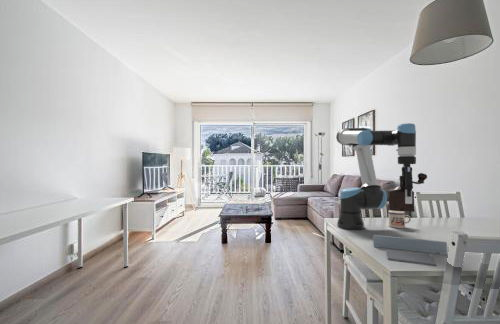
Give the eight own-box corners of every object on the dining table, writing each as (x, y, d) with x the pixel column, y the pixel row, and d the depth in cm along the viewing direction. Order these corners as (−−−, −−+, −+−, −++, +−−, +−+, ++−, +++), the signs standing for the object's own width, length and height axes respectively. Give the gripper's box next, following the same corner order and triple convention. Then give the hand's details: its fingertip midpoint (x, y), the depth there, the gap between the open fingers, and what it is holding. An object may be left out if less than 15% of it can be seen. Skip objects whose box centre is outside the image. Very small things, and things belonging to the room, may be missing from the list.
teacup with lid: (390, 228, 157) (389, 208, 157) (386, 224, 165) (386, 205, 165) (413, 229, 153) (412, 209, 153) (408, 225, 162) (408, 206, 162)
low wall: (373, 244, 125) (373, 234, 125) (445, 252, 114) (445, 240, 114) (373, 247, 122) (373, 236, 122) (447, 255, 110) (447, 243, 110)
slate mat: (386, 250, 117) (386, 249, 117) (429, 255, 110) (429, 254, 110) (388, 259, 106) (388, 258, 106) (436, 265, 99) (436, 264, 99)
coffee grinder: (389, 210, 125) (388, 172, 125) (388, 207, 135) (388, 172, 135) (428, 213, 118) (428, 173, 118) (424, 209, 128) (424, 172, 128)
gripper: (395, 156, 139) (395, 198, 139) (400, 155, 118) (400, 205, 118) (412, 156, 136) (412, 199, 136) (420, 155, 115) (420, 206, 115)
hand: (407, 202), depth 127 cm, fingers closed on coffee grinder, 10 cm apart
